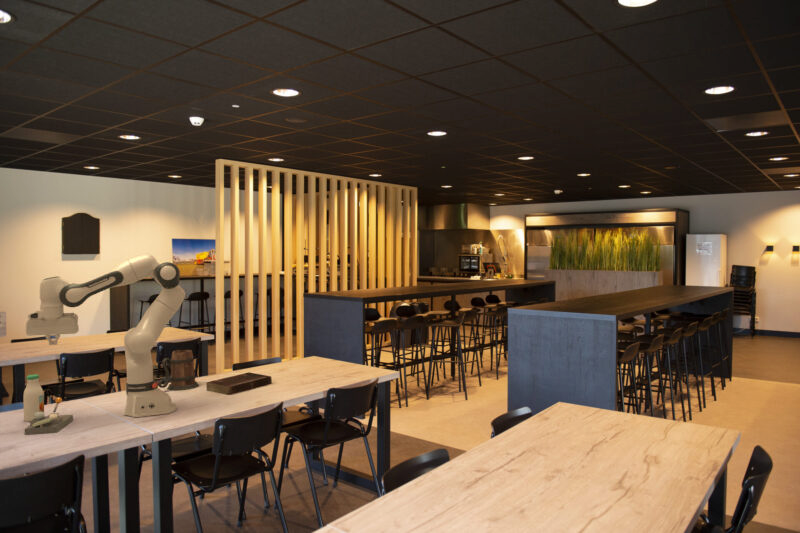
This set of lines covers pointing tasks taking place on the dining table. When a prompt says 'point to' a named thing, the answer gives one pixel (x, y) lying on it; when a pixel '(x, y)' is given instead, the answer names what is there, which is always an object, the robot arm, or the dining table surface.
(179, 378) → the tankard
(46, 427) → the panel
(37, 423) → the rocker sage
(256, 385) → the dark brown flat block
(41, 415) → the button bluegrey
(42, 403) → the milk bottle
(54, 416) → the button cream
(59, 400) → the toggle lever
